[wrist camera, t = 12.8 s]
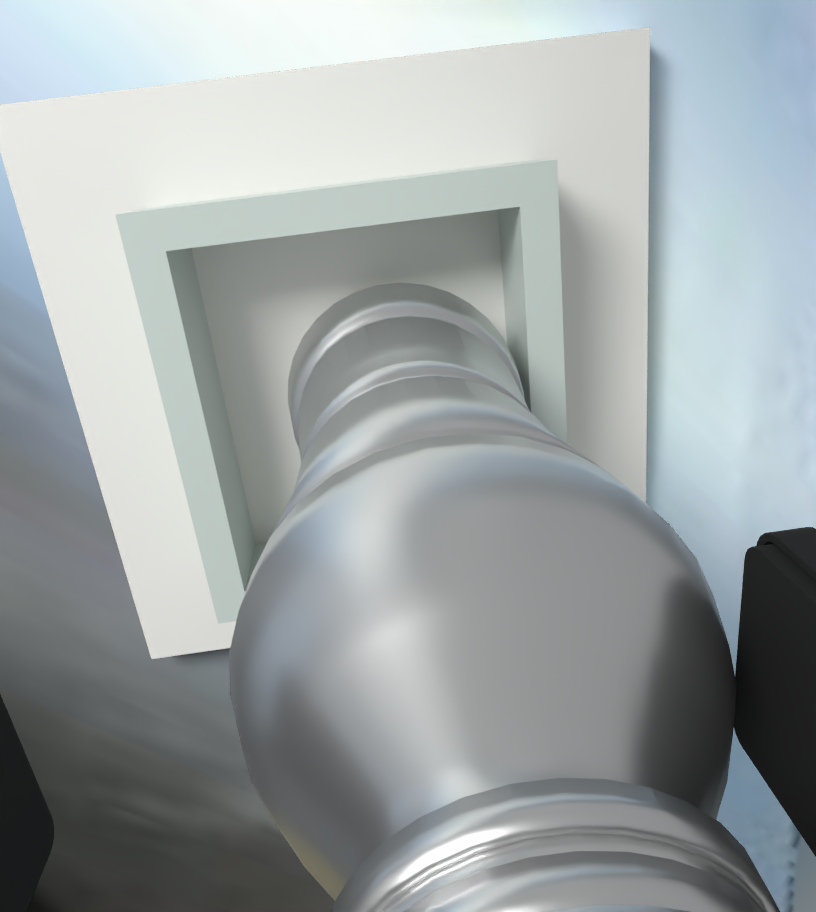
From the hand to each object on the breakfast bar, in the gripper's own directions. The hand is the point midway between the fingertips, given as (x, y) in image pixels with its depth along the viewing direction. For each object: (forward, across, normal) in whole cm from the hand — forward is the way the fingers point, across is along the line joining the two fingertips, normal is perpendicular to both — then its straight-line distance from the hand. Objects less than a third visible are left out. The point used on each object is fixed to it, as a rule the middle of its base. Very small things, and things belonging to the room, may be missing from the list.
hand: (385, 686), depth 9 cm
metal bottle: (+15, -1, +1) cm, 15 cm away
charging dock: (+16, 0, +1) cm, 16 cm away
